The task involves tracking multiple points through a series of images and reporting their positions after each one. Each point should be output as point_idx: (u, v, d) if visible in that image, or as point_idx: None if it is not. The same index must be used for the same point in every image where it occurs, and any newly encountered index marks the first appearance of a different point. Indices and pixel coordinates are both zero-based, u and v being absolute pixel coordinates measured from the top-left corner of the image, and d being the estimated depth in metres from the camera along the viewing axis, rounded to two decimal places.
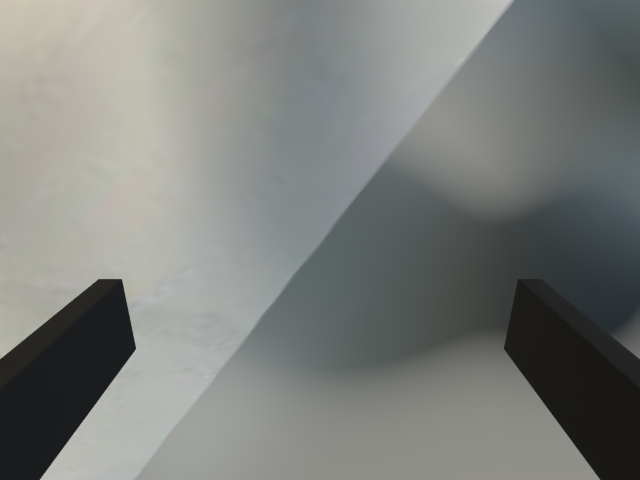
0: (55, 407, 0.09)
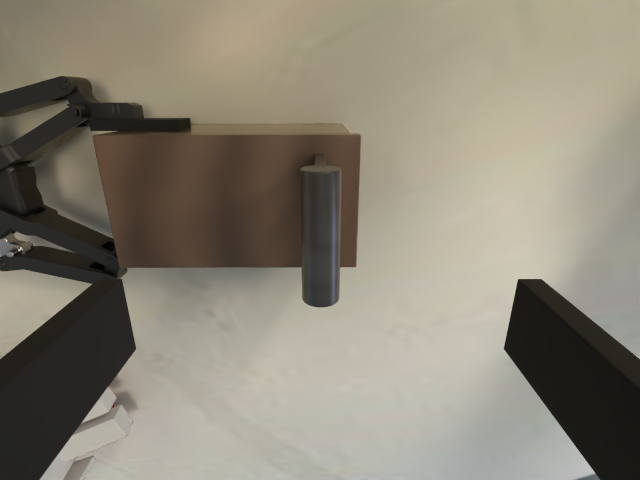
0: (55, 407, 0.09)
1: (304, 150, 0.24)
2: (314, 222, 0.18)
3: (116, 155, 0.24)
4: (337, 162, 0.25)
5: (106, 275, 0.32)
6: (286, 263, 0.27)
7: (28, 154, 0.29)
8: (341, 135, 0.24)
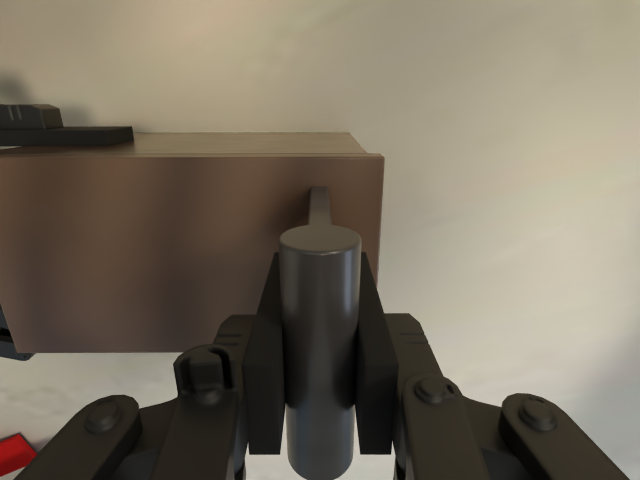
0: None
1: (294, 181, 0.15)
2: (308, 344, 0.09)
3: None
4: (346, 200, 0.15)
5: None
6: None
7: None
8: (353, 157, 0.15)
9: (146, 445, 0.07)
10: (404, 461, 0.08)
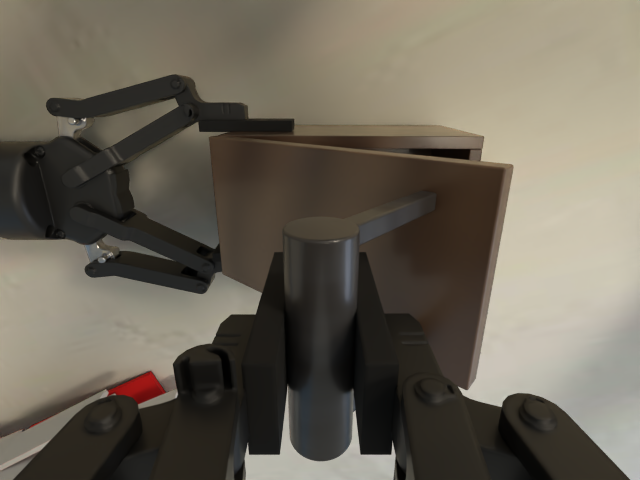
0: None
1: (405, 182, 0.15)
2: (289, 319, 0.10)
3: (223, 159, 0.23)
4: (455, 211, 0.14)
5: (200, 282, 0.31)
6: None
7: (130, 156, 0.27)
8: (469, 165, 0.13)
9: (146, 445, 0.07)
10: (404, 461, 0.08)
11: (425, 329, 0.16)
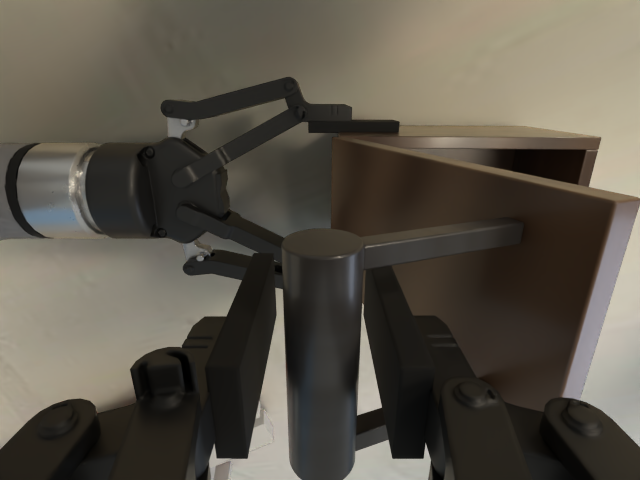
0: (260, 350, 0.11)
1: (492, 204, 0.12)
2: (284, 327, 0.10)
3: (340, 159, 0.23)
4: (543, 249, 0.11)
5: None
6: None
7: (238, 156, 0.28)
8: (569, 191, 0.10)
9: (102, 450, 0.07)
10: (441, 464, 0.08)
11: (496, 387, 0.13)
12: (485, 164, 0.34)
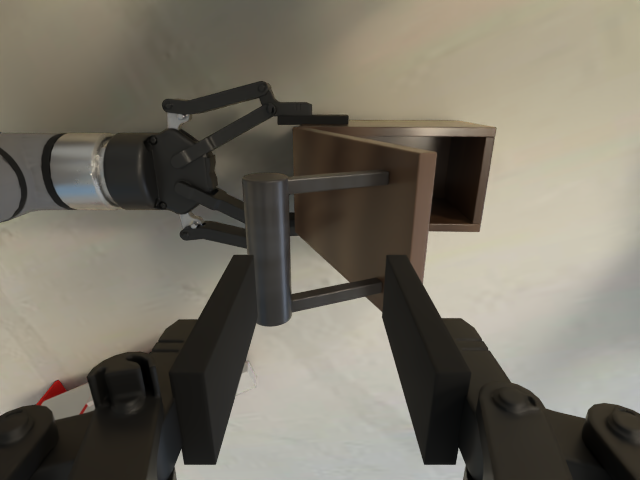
0: (235, 354, 0.11)
1: (376, 163, 0.20)
2: None
3: (298, 144, 0.31)
4: (397, 185, 0.18)
5: None
6: None
7: (223, 143, 0.36)
8: (405, 150, 0.18)
9: (57, 458, 0.07)
10: (477, 469, 0.08)
11: (384, 279, 0.21)
12: None
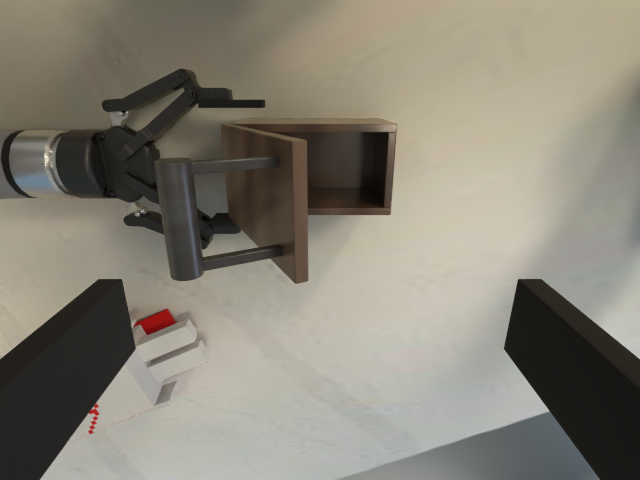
0: (55, 407, 0.09)
1: (270, 150, 0.25)
2: None
3: (225, 138, 0.35)
4: (283, 167, 0.24)
5: (203, 240, 0.44)
6: None
7: (158, 132, 0.40)
8: (285, 139, 0.23)
9: None
10: None
11: (282, 244, 0.26)
12: (354, 146, 0.47)
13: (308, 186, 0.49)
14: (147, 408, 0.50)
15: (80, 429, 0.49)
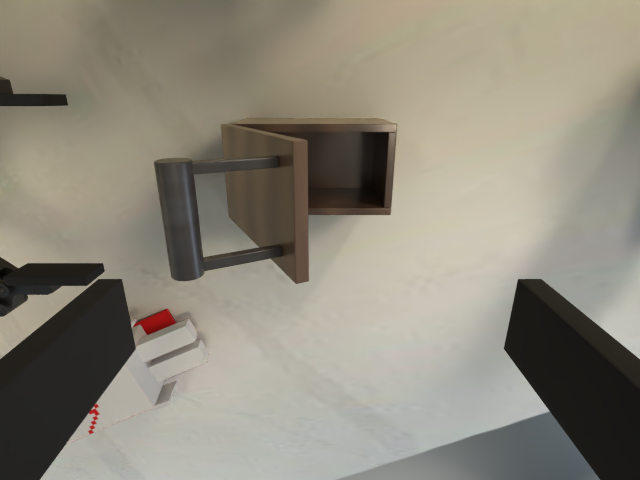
0: (55, 407, 0.09)
1: (271, 150, 0.25)
2: None
3: (225, 138, 0.35)
4: (283, 167, 0.24)
5: None
6: None
7: None
8: (286, 139, 0.23)
9: None
10: None
11: (282, 244, 0.26)
12: (354, 146, 0.47)
13: (308, 186, 0.49)
14: (147, 408, 0.50)
15: (80, 429, 0.49)
